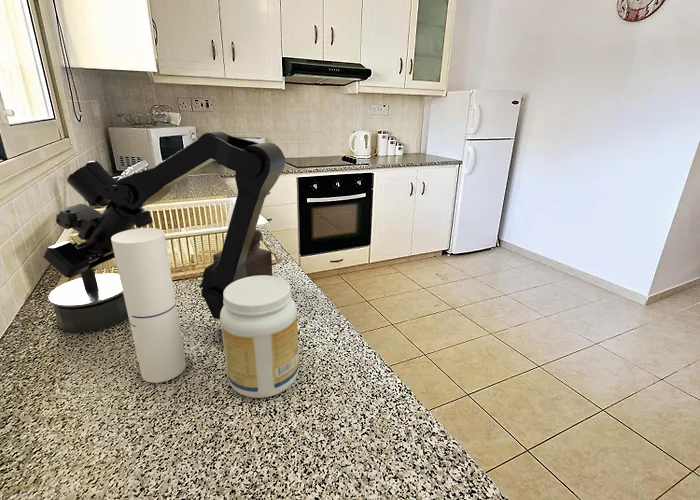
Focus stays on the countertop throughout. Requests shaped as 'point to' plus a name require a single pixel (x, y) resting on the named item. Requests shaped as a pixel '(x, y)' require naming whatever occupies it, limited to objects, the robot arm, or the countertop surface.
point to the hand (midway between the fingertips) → (81, 269)
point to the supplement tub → (260, 335)
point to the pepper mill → (255, 258)
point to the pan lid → (87, 290)
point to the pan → (92, 315)
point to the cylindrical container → (150, 302)
